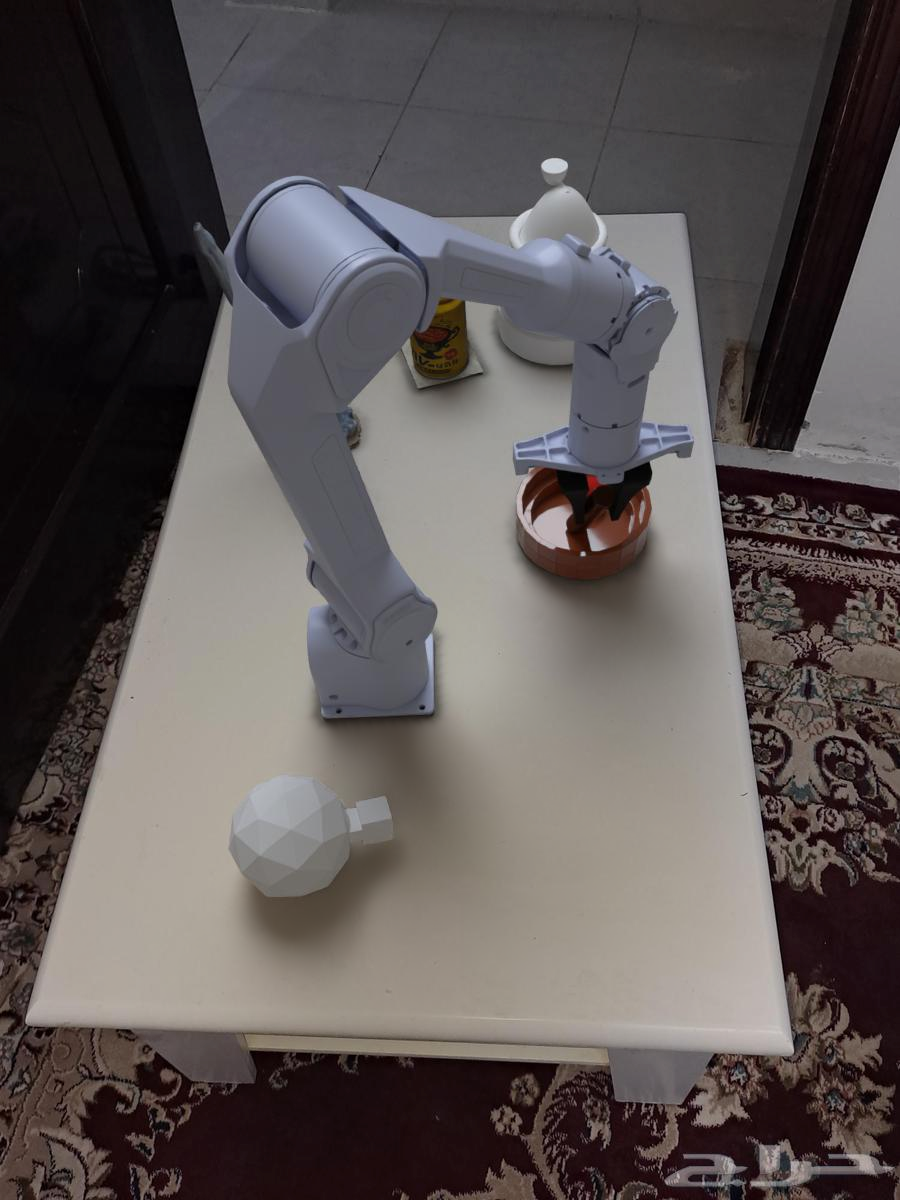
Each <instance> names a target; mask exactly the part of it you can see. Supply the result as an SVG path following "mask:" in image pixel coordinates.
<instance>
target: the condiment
mask: <svg viewBox="0 0 900 1200" xmlns="http://www.w3.org/2000/svg"><path fill="white" fill-rule="evenodd" d="M467 323H468V322H467V306H466V301H463V300H456V299H450V298H443V297H440V300H439V303H438V307H437V310H436V312H435V315H434V317H433V319H432V321H431V323H430V325H429V327H428V329H427V330H426V331H424V332H422V333H419V332H418V331H417V330H416V329H415V330H414V332H413V333H412V335H411V336H410V337H409V339H408V340H407V341H406V342H405V344H404V345H403V346H402V347H401V348H400V349H401V351H402V354H403V356H404V358H405V360H406V363H407V366H408V369H409V370H410V373H411V375H412V377H413V380H414V382H415V384H416V387H417V389H422V388H426V387H431V386H434V385H435V386H436V385H440V384H444V383H448V382H452V381H454V380H458V379H459V380H460V379H463V378H465V377H469V376H472V375H476V374H479V373H484V370H483V368H482V366H481V363H480V362H479V359H478V357H477V355H476V353H475V351H474V348H473V347H472V345H471V342H470V340H469V338H468V327H467V326H468V324H467Z"/></svg>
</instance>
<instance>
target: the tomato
mask: <svg viewBox="0 0 900 1200" xmlns="http://www.w3.org/2000/svg"><path fill="white" fill-rule="evenodd" d="M587 481H588V485H589V492H588V494H587V497H588V495H589V494H590V493H591V492H592V491H593V490H594V489H595V488H596V487H597V486H600V485H606V484H600V483H599V482H598V481H597V477H588V478H587ZM606 486H607V485H606Z"/></svg>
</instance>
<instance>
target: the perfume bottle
mask: <svg viewBox="0 0 900 1200" xmlns="http://www.w3.org/2000/svg"><path fill="white" fill-rule="evenodd" d="M229 834H230V835H229V842H228V851H229V852H230V855H231V857H232V859H233V861H234V863H235V865H236V867H237V868H238V870H239V872H240V874H241V875H242V876H243V877H244V878H245V879H247V880H248V881H249V882H250V883H251V884H252V885H253V886H254V887H255V888H256V889H258V890H259V892H261V893H262V894H263V895H264V896H265V897H267V898H288V897H289V898H294V897H295V898H296V897H298V898H299V897H300V898H302V897H304V896H307V895H309V894H312V893H314V892H317V891H319V890H322V889H324V888H327V887H330V885H331V883H332V882H333V881H334V879H335V878H336V877H337V875H338V873H339V872H340V871H341V869H342V868H343V866H345V864H346V862H347V861H348V859H349V858H350V851H351V844H353V843H356V842H361V841H362V845H363V846H366V845H371V844H375V843H380V842H384V841H389V840H390V841H391V840H393V839H394V828H393V817H392V813H391V810H390V807H389V803H388V799H387V796H386V795H383V796H378V797H374V798H368V799H365V800H359V801H355V807H351V808H345V806H344V804H343V802H342V800H341V798H340V796H339V795H338V794H336V793H335V792H334V791H333V790H331V789H329V788H328V787H327V786H325V784H323V783H322V782H321V781H319V780H318V779H317V778H315V777H312V776H300V775H298V776H297V775H286V774H280V775H277V776H275V777H273V778H270V779H269V780H267V781H264V782H262V783H259V784H257V785H255V786H253V788H252V789H251V790H250V791H249V793H248V794H247V795H246V796H245V797H244V799H243V801H242V802H241V803H240V804H239V805H238V807H237V808H236V809H235V811H234V812H233V813H232V817H231V825H230V833H229Z"/></svg>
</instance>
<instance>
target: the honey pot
mask: <svg viewBox="0 0 900 1200" xmlns="http://www.w3.org/2000/svg"><path fill="white" fill-rule="evenodd" d="M540 167H541V170H540V171H541V174H542V175H541V176H542V177H543V179H544V181H545V183H546V184H548V185H550V186H554V187H552V188H551V189H549V190H547V191H546V192H545V193H544V194H543V195H542V196H541V197H540V198H539V200H537V202H536V204H535V205H534V206H533V207H532V208H530V209H527V210H525V211H524V212H523V213H520V214H519V215H518V216H517V218H516V219H515V220H514V221H513V222H512V223H511V225H510V228H509V231H508V240H509V241H508V242H509V245H510V247H511V248H514V249H517V250H518V249H519V248H520V247H522V246H523V245H524V244H526V243H527V242H530V241H532V240H535V239H538V238H548V239H552V240H555V241H558V242H561V243H562V240H563V238H564V236H565V235H566V234H570V235H573V236H576V237H578V238H580V239H581V240H582V241H584V242H585V243H586V244H588V245H589V246H590V247H591V251H593V250H595V249H597V248H600V247H604V246H607V242H608V238H609V234H608V228H607V226H606V224H605V222H604V221H603V219H602V218H601V217H600V216H599V215H598V214H597V213H595V212H594V211H592V209H591V207H590V205H589V204H588V202H587V201H586V199H585V197H584V196H583V195H582V194H581V193H580V192H579V191H577V189H575V188H574V187H572V186H569V185H566V184H565V183H564V179H565V178H566V176H567V173H568V169H569V168H568V167H569V164H568V162H567V161H566V160H565V159H562V158H558V157H555V158H554V157H552V158H548V159H546V160H543V162H541V165H540ZM497 309H498V310H497V311H498V313H497V315H498V316H497V319H498V333H499V336H500V338H501V340H502V343H503V344H505V346H506V347H507V348H508V349H509V350H510V351H511V352H512V353H513V354H516V355H517V356H518V357H520V358H522V359H524V360H527V361H529V362H533V363H535V364H540V365H548V366H567V365H573V358H574V343H575V341H572V340H567V339H563V338H558V337H554V336H549V335H544V334H540V333H535V332H530V331H526V330H523V329H521V328H519V327H517V326H516V325H515V324H514V323H513V322H512V321H511V320H510V319H509V317H508V316H507V314H506V312H505V309H504V307H503V306H497Z"/></svg>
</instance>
